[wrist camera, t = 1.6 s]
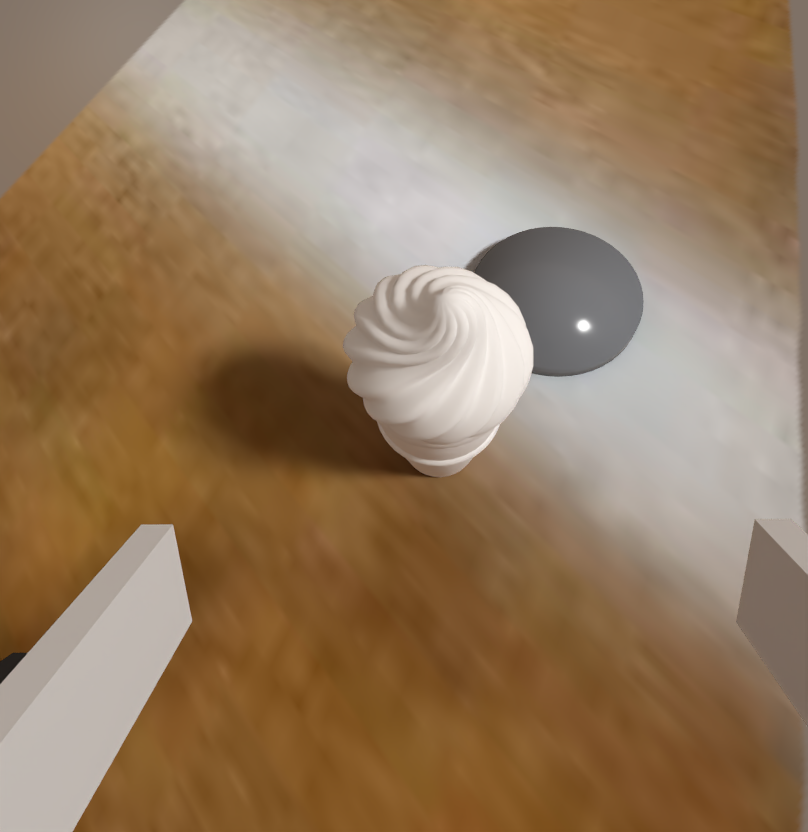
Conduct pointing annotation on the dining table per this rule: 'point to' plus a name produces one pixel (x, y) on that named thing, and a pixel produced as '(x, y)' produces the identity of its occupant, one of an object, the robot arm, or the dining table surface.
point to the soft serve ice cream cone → (438, 363)
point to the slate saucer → (568, 296)
